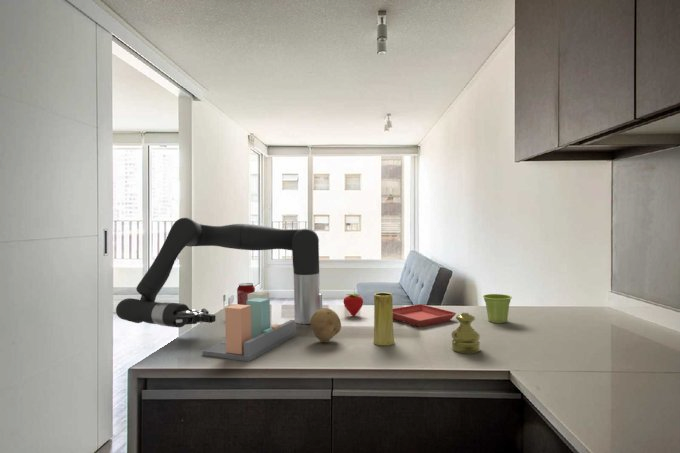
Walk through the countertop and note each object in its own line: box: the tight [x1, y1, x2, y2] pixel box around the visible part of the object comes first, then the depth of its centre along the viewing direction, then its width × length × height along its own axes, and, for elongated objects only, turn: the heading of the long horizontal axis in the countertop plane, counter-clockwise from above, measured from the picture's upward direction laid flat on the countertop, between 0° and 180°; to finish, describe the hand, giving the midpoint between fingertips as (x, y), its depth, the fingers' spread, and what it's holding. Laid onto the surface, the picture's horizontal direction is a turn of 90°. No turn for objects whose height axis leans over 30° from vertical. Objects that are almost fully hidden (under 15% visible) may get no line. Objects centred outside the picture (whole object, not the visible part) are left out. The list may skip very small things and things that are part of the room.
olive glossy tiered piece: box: [450, 312, 481, 355], centre depth 110 cm, size 7×7×10 cm
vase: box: [373, 292, 395, 347], centre depth 117 cm, size 6×6×14 cm
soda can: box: [236, 282, 256, 305], centre depth 157 cm, size 7×7×12 cm
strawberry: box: [342, 290, 364, 317], centre depth 152 cm, size 6×8×10 cm
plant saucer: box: [393, 303, 457, 328], centre depth 144 cm, size 18×18×3 cm
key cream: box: [248, 291, 270, 300], centre depth 128 cm, size 5×4×12 cm
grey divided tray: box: [202, 319, 296, 362], centre depth 118 cm, size 15×25×6 cm, turn 158°
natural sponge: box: [309, 307, 342, 343], centre depth 120 cm, size 9×9×10 cm
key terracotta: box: [224, 304, 251, 354], centre depth 108 cm, size 5×4×12 cm
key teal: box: [246, 298, 271, 339], centre depth 117 cm, size 5×4×12 cm
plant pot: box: [482, 293, 513, 324], centre depth 139 cm, size 9×9×9 cm
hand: (213, 318), depth 123 cm, fingers closed
